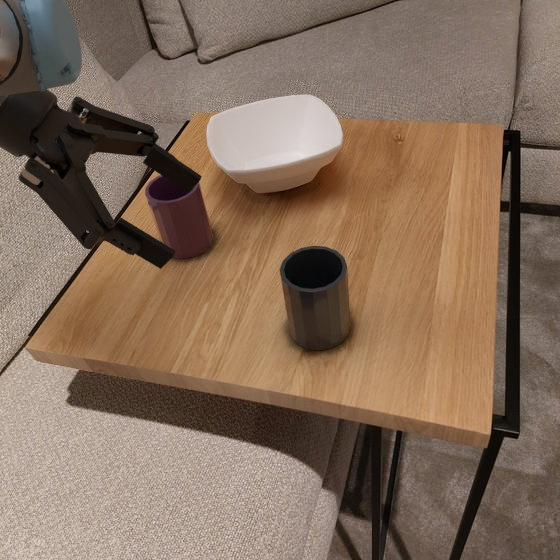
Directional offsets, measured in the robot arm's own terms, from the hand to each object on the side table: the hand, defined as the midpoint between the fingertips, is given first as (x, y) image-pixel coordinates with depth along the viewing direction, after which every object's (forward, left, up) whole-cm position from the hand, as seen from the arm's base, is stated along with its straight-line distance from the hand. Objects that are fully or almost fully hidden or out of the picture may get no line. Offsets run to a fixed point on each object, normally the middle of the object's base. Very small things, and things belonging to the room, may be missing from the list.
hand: (183, 219), depth 67 cm
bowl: (+28, +10, -15) cm, 33 cm away
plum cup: (+8, +12, -14) cm, 20 cm away
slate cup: (+4, -14, -14) cm, 21 cm away
